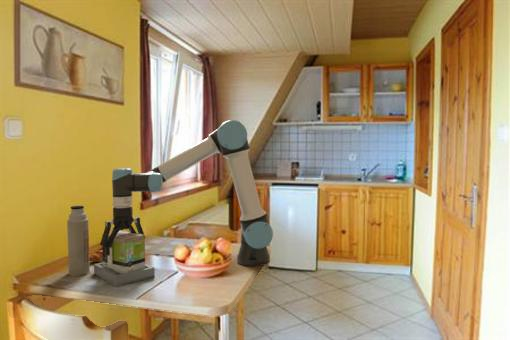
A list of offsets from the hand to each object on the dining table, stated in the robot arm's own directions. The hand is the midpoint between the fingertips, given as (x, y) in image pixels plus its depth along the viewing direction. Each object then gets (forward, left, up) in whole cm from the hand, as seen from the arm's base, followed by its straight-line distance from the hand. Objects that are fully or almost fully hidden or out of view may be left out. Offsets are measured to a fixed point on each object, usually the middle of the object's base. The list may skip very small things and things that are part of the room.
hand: (123, 260), depth 161 cm
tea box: (0, 0, -4) cm, 4 cm away
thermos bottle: (+16, +12, -7) cm, 21 cm away
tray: (0, 0, -6) cm, 6 cm away
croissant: (+27, -6, -7) cm, 28 cm away
